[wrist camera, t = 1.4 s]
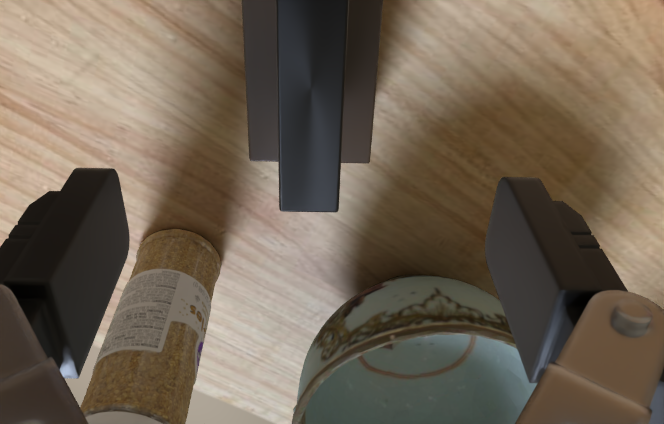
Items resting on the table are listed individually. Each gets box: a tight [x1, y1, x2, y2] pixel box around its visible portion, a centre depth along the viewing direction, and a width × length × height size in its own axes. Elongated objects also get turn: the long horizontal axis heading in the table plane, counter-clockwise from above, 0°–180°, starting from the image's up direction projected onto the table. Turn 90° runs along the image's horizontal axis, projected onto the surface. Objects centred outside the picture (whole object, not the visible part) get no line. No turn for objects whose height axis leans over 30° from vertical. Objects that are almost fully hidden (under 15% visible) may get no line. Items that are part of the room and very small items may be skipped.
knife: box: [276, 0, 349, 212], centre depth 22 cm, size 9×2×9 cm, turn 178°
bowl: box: [292, 275, 538, 424], centre depth 33 cm, size 14×13×8 cm
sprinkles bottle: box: [80, 229, 221, 424], centre depth 28 cm, size 5×5×14 cm
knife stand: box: [242, 0, 383, 163], centre depth 24 cm, size 11×5×4 cm, turn 178°
